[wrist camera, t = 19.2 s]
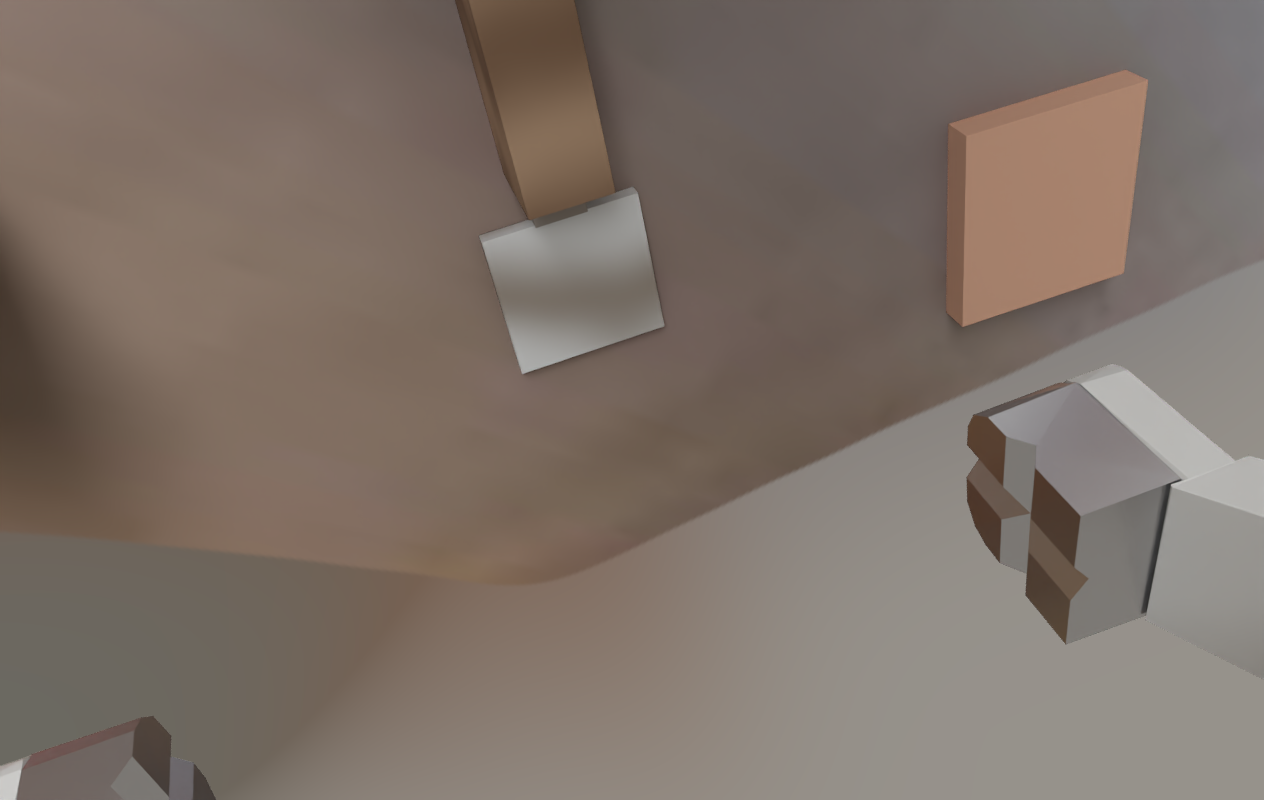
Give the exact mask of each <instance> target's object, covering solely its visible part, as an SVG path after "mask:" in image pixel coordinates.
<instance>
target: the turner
mask: <svg viewBox="0 0 1264 800" xmlns="http://www.w3.org/2000/svg"><path fill="white" fill-rule="evenodd" d="M455 2H456V5H457V9H458V12H459V16H460V19H461V23H462V27H463V30H464V34H465V37H466V41H467V44H468V48H469V51H470V55H471V58H472V62H473V66H474V69H475V73H476V76H477V80H478V83H479V87H480V90H481V94H482V98H483V101H484V105H485V108H486V112H487V115H488V119H489V122H490V126H491V130H492V133H493V137H494V140H495V144H496V147H497V151H498V154H499V158H500V161H501V165H502V169H503V172H504V175H505V177H506V179H507V180H508V182H509V184H510V186H511V188H512V190H513V192H514V193H515V195H516V197H517V199H518V201H519V203H520V204H521V206H522V208H523V210H524V212H525V214H526V216H527V217H528V219H529V220H526V221H523V222H520V223H517V224H514V225H510V226H507V227H504V228H501V229H498V230H495V231H491V232H488V233H485V234H482V235H479V238H480V241H481V245H482V248H483V251H484V254H485V257H486V261H487V264H488V267H489V270H490V274H491V277H492V280H493V283H494V287H495V290H496V293H497V296H498V299H499V303H500V306H501V309H502V312H503V316H504V319H505V322H506V325H507V329H508V332H509V335H510V338H511V341H512V345H513V348H514V351H515V354H516V358H517V361H518V364H519V367H520V369H521V372H522V374H524V373H527V372H530V371H533V370H536V369H539V368H542V367H545V366H548V365H551V364H554V363H557V362H560V361H563V360H566V359H569V358H571V357H574V356H577V355H580V354H583V353H586V352H589V351H592V350H595V349H598V348H601V347H604V346H607V345H610V344H613V343H616V342H619V341H622V340H625V339H628V338H631V337H634V336H637V335H640V334H643V333H646V332H649V331H652V330H655V329H658V328H661V327H664V321H663V316H662V311H661V306H660V301H659V296H658V291H657V286H656V281H655V276H654V271H653V266H652V261H651V256H650V251H649V246H648V241H647V236H646V231H645V226H644V221H643V216H642V211H641V206H640V201H639V196H638V193H637V191H636V190H635V189H634V187H630V188H627V189H624V190H621V191H618V192H615V188H614V183H613V178H612V174H611V169H610V164H609V160H608V155H607V150H606V146H605V141H604V136H603V132H602V127H601V122H600V118H599V113H598V108H597V104H596V99H595V94H594V90H593V85H592V80H591V76H590V71H589V66H588V62H587V57H586V52H585V47H584V43H583V38H582V33H581V29H580V24H579V19H578V15H577V10H576V5H575V1H574V0H455Z"/></svg>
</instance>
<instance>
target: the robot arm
mask: <svg viewBox="0 0 1264 800" xmlns="http://www.w3.org/2000/svg"><path fill="white" fill-rule="evenodd" d="M967 445H968V446H969V448H970V449H971V450H972V451H973V452H974V454H975V455H976V456H977V457H978V458H979V460H978V461H977V463H976V464H975V466H974V467H973V469H972V470H971V472H970V473H969V475H968V476H967V502H968V505H969V508H970V511H971V514H972V518H973V521H974V524H975V527H976V529H977V530H978V532H979V534H980V536H981V537H982V539H983V541H984V543H985V545H986V546H987V547H988V549H989V550H990V551H991V552H992V554H993V555H994V556H995V557H996V559H997V560H998V561H999V563H1001V564H1003V565H1006V566H1009V567H1011V568H1014V569H1016V570H1019V571H1021V572H1024V573H1026V574H1027V579H1026V596H1027V598H1028V599H1029V600H1030V601H1031V603H1032V604H1033V605H1034V606H1035V607H1036V609H1037V610H1038V611H1039V612H1040V614H1041V615H1042V616H1043V617H1044V619H1045V620H1046V621H1047V622H1048V623H1049V625H1050V626H1051V627H1052V628H1053V630H1054V631H1055V632H1056V633H1057V634H1058V636H1059V637H1060V638H1061V639H1062V641H1063V642H1064V643H1065V644H1068V643H1071V642H1074V641H1077V640H1080V639H1082V638H1085V637H1088V636H1091V635H1093V634H1096V633H1099V632H1101V631H1105V630H1107V629H1110V628H1113V627H1115V626H1118V625H1121V624H1124V623H1127V622H1129V621H1132V620H1135V619H1138V618H1140V617H1143V616H1146V619H1145V620H1146V621H1148V622H1150V623H1152V624H1154V625H1156V626H1158V627H1160V628H1162V629H1164V630H1166V631H1168V632H1170V633H1172V634H1174V635H1176V636H1178V637H1180V638H1182V639H1183V640H1186V641H1188V642H1190V643H1192V644H1194V645H1196V646H1197V647H1199V648H1201V649H1203V650H1205V651H1208V652H1209V653H1211V654H1214V655H1215V656H1218V657H1219V658H1221V659H1223V660H1225V661H1227V662H1229V663H1231V664H1233V665H1236V666H1237V667H1239V668H1241V669H1243V670H1246V671H1247V672H1249V673H1251V674H1253V675H1255V676H1257V677H1259V678H1261V679H1263V680H1264V460H1262V459H1259V458H1255V457H1252V456H1247V457H1244V458H1241V459H1238V460H1234V459H1233V458H1232V457H1231V456H1229V455H1228V454H1227V453H1226V452H1225V451H1223V450H1222V449H1221V448H1220V447H1219V446H1217V445H1216V444H1215V443H1214V442H1213V441H1211V440H1210V439H1209V438H1208V437H1207V436H1206V435H1204V434H1203V433H1202V432H1201V431H1200V430H1198V429H1197V428H1196V427H1195V426H1194V425H1192V424H1191V423H1190V422H1189V421H1188V420H1187V419H1185V418H1184V417H1183V416H1182V415H1181V414H1179V413H1178V412H1177V411H1176V410H1174V408H1172V407H1171V406H1170V405H1169V404H1168V403H1166V402H1165V401H1164V400H1163V399H1162V398H1160V397H1159V396H1158V395H1157V394H1156V393H1155V392H1153V391H1152V390H1151V389H1150V388H1149V387H1147V386H1146V385H1145V384H1144V383H1143V382H1141V381H1140V380H1139V379H1138V378H1137V377H1135V376H1134V375H1133V374H1132V373H1131V372H1129V371H1128V370H1127V369H1126V368H1124V367H1122V366H1118V365H1115V364H1109V365H1107V366H1104V367H1101V368H1099V369H1096V370H1093V371H1091V372H1088V373H1085V374H1082V375H1080V376H1077V377H1074V378H1071V379H1069V380H1066V381H1065V382H1064V383H1057V384H1054V385H1052V386H1049V387H1046V388H1044V389H1042V390H1039V391H1036V392H1033V393H1030V394H1028V395H1025V396H1023V397H1020V398H1017V399H1014V400H1012V401H1009V402H1007V403H1004V404H1001V405H999V406H996V407H993V408H990V409H988V410H985V411H982V412H980V413H977V414H974V415H973V417H972V419H971V421H970V423H969V425H968V438H967ZM0 800H216V798H215V796H214V794H213V792H212V790H211V788H210V786H209V784H208V782H207V780H206V778H205V777H204V775H203V774H202V773H201V771H200V770H199V769H198V768H197V766H196V765H195V764H194V763H193V762H189V761H185V760H182V759H178V758H174V757H171V735H170V734H169V733H168V732H167V731H166V729H165V728H164V727H163V726H162V725H161V724H160V723H159V722H158V721H157V720H156V719H155V718H154V716H149V717H141V718H138V719H135V720H132V721H129V722H126V723H123V724H121V725H117V726H114V727H111V728H109V729H106V730H103V731H100V732H97V733H94V734H91V735H88V736H85V737H82V738H79V739H76V740H73V741H70V742H67V743H64V744H61V745H58V746H55V747H52V748H49V749H46V750H43V751H40V752H37V753H34V754H32V755H31V756H28V757H25V758H22V759H19V760H16V761H13V762H10V763H7V764H4V765H1V766H0Z"/></svg>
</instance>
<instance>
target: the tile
mask: <svg viewBox="0 0 1264 800" xmlns="http://www.w3.org/2000/svg"><path fill="white" fill-rule="evenodd" d="M1147 86H1148V80H1147V79H1144V78H1142V77H1140V76H1138V75H1136V74H1134V73H1132V72H1129V71H1127V70H1123V71H1120V72H1117V73H1113V74H1110V75H1107V76H1104V77H1100V78H1097V79H1094V80H1090V81H1087V82H1084V83H1081V84H1077V85H1074V86H1071V87H1068V88H1064V89H1061V90H1058V91H1054V92H1051V93H1048V94H1045V95H1041V96H1038V97H1035V98H1032V99H1028V100H1025V101H1022V102H1019V103H1015V104H1012V105H1009V106H1005V107H1002V108H999V109H996V110H992V111H989V112H986V113H983V114H979V115H976V116H973V117H969V118H966V119H963V120H960V121H956V122H953V123H950V124H948V194H947V290H946V312H947V313H948V314H949V315H950V316H951V317H952V318H953V319H954V320H955V321H957V322H958V323H959V324H960V325H961V326H962V327H964V326H967V325H970V324H973V323H976V322H979V321H982V320H985V319H988V318H991V317H994V316H997V315H1000V314H1003V313H1006V312H1009V311H1012V310H1015V309H1018V308H1021V307H1024V306H1027V305H1030V304H1033V303H1036V302H1039V301H1042V300H1045V299H1048V298H1051V297H1054V296H1057V295H1060V294H1063V293H1066V292H1069V291H1072V290H1075V289H1078V288H1081V287H1084V286H1087V285H1090V284H1093V283H1096V282H1099V281H1102V280H1105V279H1108V278H1111V277H1114V276H1117V275H1120V274H1123V273H1124V267H1125V259H1126V251H1127V243H1128V236H1129V228H1130V220H1131V212H1132V204H1133V196H1134V188H1135V181H1136V173H1137V165H1138V157H1139V149H1140V141H1141V133H1142V126H1143V118H1144V110H1145V102H1146V94H1147Z"/></svg>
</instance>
